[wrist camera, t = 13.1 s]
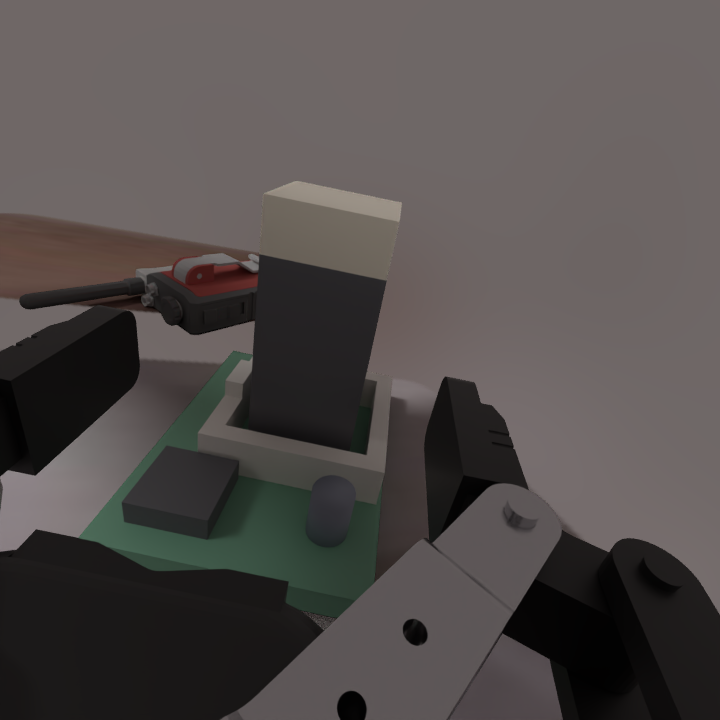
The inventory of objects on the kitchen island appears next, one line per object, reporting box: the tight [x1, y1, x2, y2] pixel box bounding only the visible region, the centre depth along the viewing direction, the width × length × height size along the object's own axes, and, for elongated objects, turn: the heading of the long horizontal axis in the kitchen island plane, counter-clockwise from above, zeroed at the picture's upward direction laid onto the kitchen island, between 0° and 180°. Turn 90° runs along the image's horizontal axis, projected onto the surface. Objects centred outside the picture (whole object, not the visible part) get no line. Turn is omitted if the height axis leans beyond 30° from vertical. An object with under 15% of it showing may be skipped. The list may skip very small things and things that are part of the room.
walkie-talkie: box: [19, 253, 259, 335], centre depth 32 cm, size 9×4×20 cm
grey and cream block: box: [248, 181, 402, 451], centre depth 18 cm, size 4×4×11 cm
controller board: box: [79, 351, 392, 618], centre depth 20 cm, size 10×14×4 cm
